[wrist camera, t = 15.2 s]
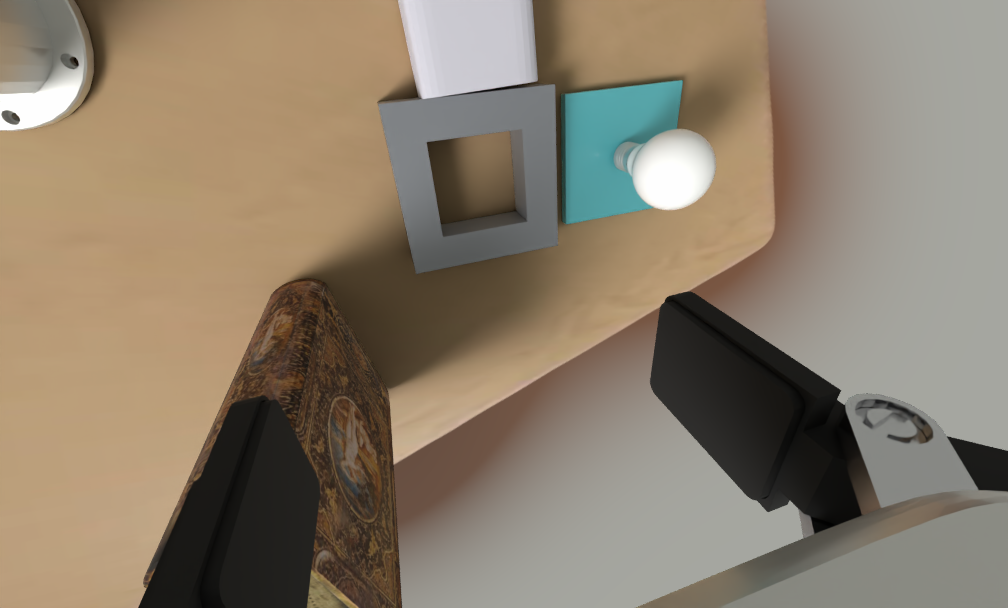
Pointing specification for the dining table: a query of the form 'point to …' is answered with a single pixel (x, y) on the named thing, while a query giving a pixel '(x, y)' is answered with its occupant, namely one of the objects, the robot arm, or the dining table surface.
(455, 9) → the charger
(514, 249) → the frame
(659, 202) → the lightbulb
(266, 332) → the book
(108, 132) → the dining table surface
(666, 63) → the dining table surface
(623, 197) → the plate
